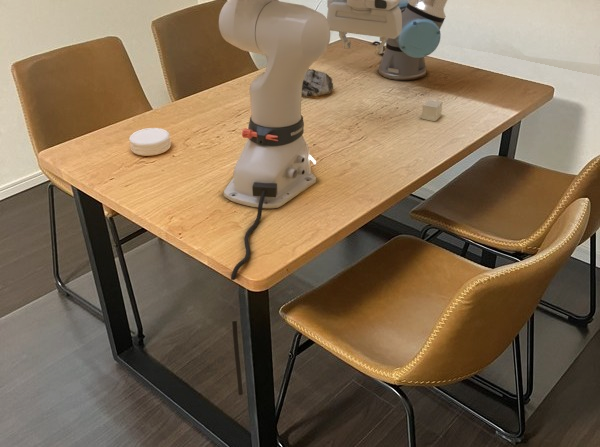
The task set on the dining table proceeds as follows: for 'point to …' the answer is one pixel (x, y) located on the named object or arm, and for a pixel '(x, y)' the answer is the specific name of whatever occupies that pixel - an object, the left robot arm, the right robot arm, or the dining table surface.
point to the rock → (316, 83)
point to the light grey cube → (432, 110)
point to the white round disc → (150, 141)
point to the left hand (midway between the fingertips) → (362, 50)
